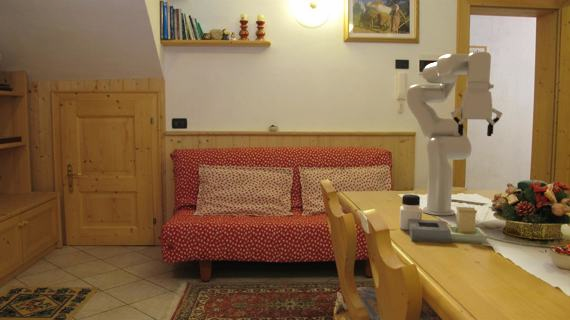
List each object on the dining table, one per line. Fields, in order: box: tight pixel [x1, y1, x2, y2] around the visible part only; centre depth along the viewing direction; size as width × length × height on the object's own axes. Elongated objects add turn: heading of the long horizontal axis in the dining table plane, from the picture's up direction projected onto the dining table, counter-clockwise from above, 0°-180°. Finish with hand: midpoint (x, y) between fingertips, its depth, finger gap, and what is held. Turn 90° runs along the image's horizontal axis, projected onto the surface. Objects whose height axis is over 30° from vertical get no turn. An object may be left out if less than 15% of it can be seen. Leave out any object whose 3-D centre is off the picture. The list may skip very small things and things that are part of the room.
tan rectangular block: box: [455, 206, 477, 234], centre depth 158 cm, size 5×5×9 cm
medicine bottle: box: [398, 193, 423, 231], centre depth 170 cm, size 7×7×12 cm
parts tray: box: [447, 225, 488, 244], centre depth 158 cm, size 11×11×2 cm
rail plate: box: [407, 219, 451, 244], centre depth 159 cm, size 14×12×4 cm
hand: (474, 135), depth 171 cm, fingers open, 9 cm apart
